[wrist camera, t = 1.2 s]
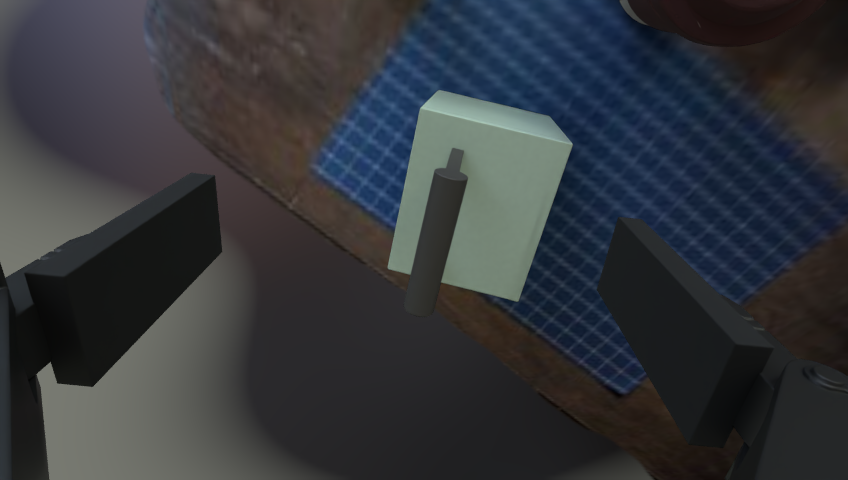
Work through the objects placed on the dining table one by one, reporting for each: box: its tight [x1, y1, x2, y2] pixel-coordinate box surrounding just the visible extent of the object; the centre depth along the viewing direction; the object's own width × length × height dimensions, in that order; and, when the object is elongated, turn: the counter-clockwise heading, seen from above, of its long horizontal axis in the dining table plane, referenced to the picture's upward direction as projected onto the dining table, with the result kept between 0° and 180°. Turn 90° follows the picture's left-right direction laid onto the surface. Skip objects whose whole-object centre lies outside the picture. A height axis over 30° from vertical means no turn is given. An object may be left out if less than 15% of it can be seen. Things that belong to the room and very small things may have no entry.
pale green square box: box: [388, 90, 573, 317], centre depth 34 cm, size 20×12×10 cm
